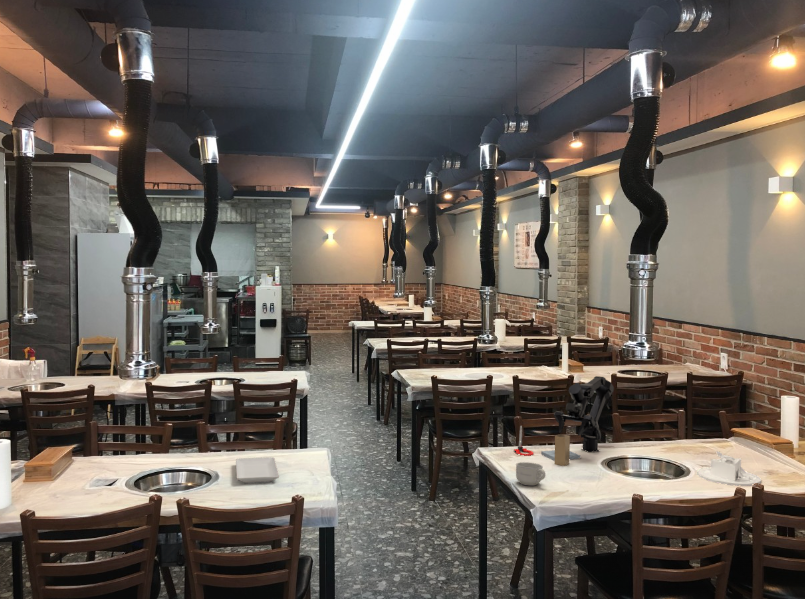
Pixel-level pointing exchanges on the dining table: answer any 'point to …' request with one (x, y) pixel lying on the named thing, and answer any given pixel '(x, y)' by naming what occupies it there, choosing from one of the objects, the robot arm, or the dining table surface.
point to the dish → (728, 472)
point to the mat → (552, 455)
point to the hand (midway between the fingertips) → (568, 433)
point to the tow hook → (522, 447)
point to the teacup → (529, 473)
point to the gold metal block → (562, 449)
